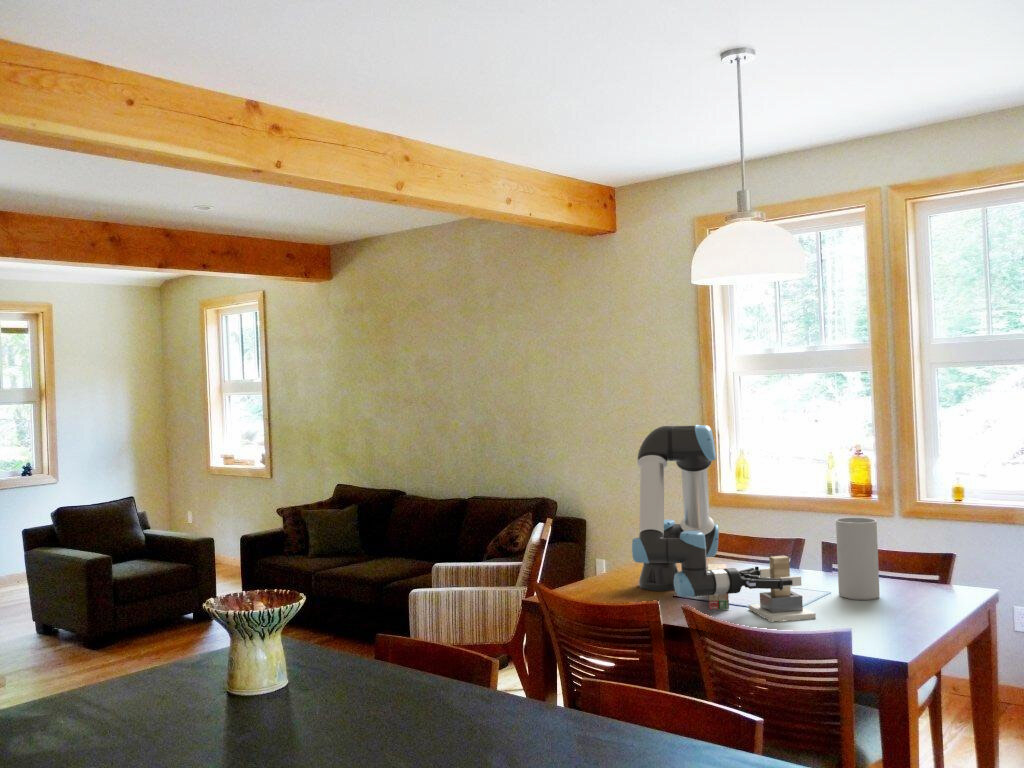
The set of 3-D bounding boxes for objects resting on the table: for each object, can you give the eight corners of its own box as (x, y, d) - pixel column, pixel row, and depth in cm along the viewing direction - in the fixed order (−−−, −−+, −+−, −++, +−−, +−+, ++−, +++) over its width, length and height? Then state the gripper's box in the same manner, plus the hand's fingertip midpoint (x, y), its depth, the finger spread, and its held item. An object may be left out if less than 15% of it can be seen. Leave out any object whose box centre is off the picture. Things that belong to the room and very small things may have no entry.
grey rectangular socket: (760, 607, 275) (759, 592, 275) (790, 604, 277) (789, 590, 277) (772, 613, 267) (771, 598, 267) (802, 610, 269) (802, 595, 269)
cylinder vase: (838, 599, 287) (835, 522, 287) (838, 591, 298) (835, 517, 299) (880, 601, 282) (877, 523, 283) (878, 592, 294) (875, 517, 294)
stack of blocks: (707, 594, 301) (706, 558, 301) (726, 594, 300) (725, 558, 300) (709, 610, 280) (707, 571, 280) (729, 610, 279) (727, 571, 279)
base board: (748, 609, 278) (748, 604, 278) (790, 606, 281) (789, 601, 281) (772, 622, 263) (772, 617, 263) (815, 618, 265) (815, 613, 265)
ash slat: (771, 608, 273) (769, 556, 273) (786, 607, 274) (784, 555, 274) (775, 610, 270) (773, 558, 270) (791, 609, 271) (789, 557, 271)
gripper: (709, 585, 281) (771, 580, 285) (743, 603, 257) (810, 597, 260) (708, 561, 281) (770, 557, 285) (741, 577, 257) (809, 571, 260)
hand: (790, 576), depth 273 cm, fingers open, 13 cm apart
